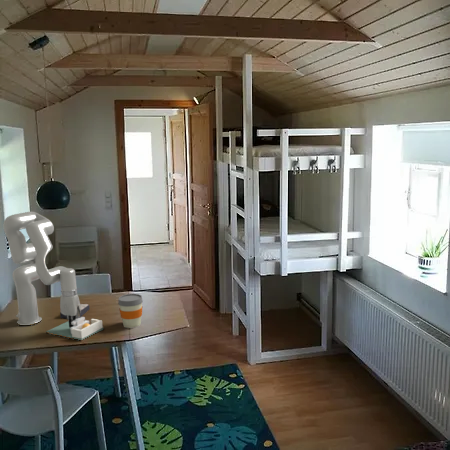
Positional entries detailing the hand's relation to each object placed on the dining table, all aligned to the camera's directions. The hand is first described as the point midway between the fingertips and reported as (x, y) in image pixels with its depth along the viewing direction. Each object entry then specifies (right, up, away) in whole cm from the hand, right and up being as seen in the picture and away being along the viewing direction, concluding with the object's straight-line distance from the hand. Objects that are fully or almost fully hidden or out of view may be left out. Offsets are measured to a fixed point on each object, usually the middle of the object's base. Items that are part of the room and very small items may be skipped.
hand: (72, 326), depth 248 cm
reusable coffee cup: (+29, 0, +7) cm, 30 cm away
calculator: (-7, +1, +26) cm, 27 cm away
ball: (+8, 0, -4) cm, 9 cm away
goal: (+9, -2, -4) cm, 10 cm away
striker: (+4, -1, -2) cm, 5 cm away
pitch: (+1, -2, 0) cm, 3 cm away
